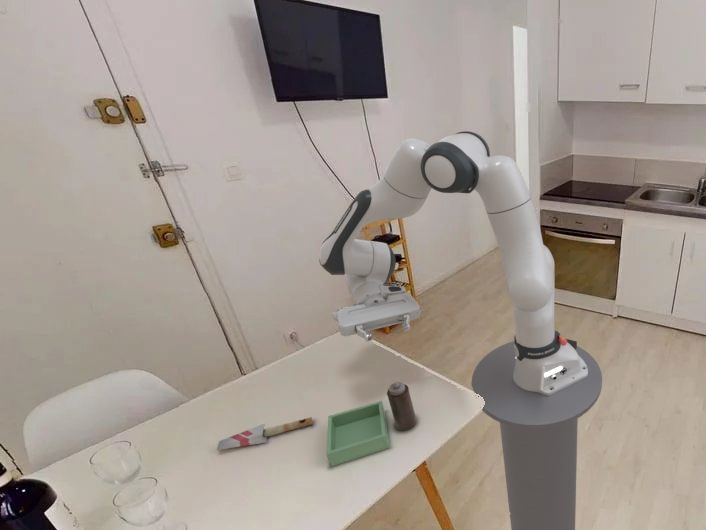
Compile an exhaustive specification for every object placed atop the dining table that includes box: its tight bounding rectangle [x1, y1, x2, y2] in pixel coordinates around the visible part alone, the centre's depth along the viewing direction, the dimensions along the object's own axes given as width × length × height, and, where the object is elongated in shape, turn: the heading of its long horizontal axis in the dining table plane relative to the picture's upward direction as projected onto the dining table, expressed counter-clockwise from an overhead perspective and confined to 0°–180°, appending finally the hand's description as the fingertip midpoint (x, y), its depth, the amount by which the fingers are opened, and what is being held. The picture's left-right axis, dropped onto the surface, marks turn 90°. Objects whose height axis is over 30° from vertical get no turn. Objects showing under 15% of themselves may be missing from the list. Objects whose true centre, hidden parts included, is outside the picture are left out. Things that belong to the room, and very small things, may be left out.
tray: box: [326, 400, 390, 467], centre depth 99 cm, size 13×13×4 cm
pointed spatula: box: [216, 416, 314, 451], centre depth 100 cm, size 4×3×20 cm
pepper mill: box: [386, 381, 417, 432], centre depth 100 cm, size 5×5×13 cm
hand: (388, 334), depth 102 cm, fingers open, 8 cm apart
